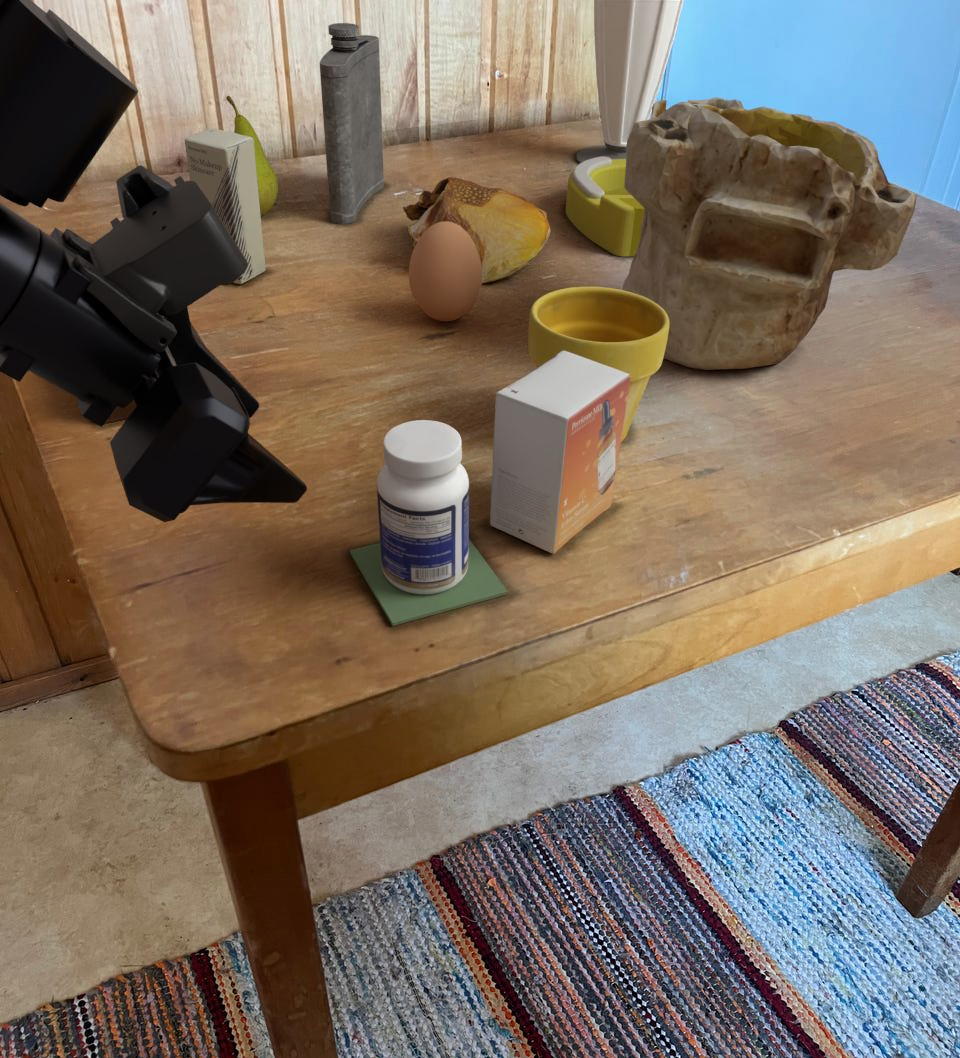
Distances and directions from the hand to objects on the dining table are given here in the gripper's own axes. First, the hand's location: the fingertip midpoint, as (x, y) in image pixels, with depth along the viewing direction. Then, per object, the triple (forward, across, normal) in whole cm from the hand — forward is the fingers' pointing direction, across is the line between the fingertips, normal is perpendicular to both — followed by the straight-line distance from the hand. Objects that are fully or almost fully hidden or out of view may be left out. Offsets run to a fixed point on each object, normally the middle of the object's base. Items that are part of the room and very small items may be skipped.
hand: (276, 450), depth 54 cm
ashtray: (+48, +50, -32) cm, 76 cm away
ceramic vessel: (+42, +20, -26) cm, 54 cm away
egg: (+26, +35, -10) cm, 45 cm away
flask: (+28, +67, -11) cm, 74 cm away
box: (+15, +52, +2) cm, 54 cm away
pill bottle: (+14, 0, +2) cm, 14 cm away
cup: (+54, +70, -38) cm, 97 cm away
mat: (+14, 0, +2) cm, 15 cm away
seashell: (+32, +49, -16) cm, 60 cm away
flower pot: (+28, +12, -12) cm, 33 cm away
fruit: (+19, +67, -3) cm, 70 cm away
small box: (+22, +3, -6) cm, 23 cm away
